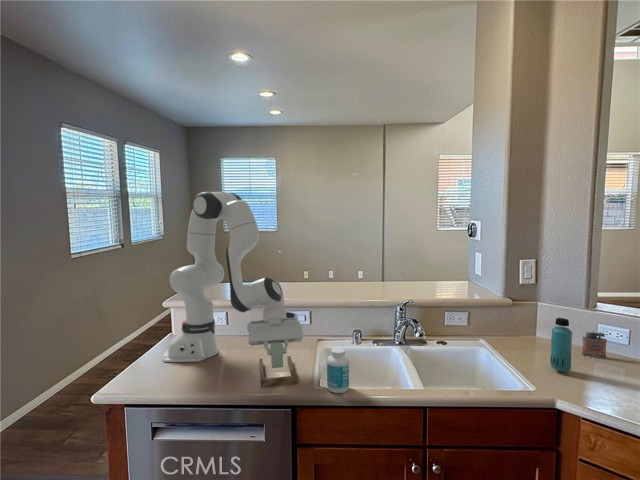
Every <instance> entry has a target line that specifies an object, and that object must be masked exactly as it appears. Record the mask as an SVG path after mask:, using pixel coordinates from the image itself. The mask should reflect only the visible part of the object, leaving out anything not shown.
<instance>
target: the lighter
mask: <svg viewBox="0 0 640 480" xmlns="http://www.w3.org/2000/svg"><path fill="white" fill-rule="evenodd" d="M585 335H586V336H582V337H581V338H582V348H581V349H582V352H581V356H583V355H584V356H583V357H586V356H589V357H588V358H592V357H594V359H603V358H605V359H607V354H606V353H607V342H608V340H607V339H606V338H605V337H606V335H605V333H604V332H595V331H591V332H590V331H586V332H585Z"/></svg>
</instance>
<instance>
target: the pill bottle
mask: <svg viewBox="0 0 640 480" xmlns="http://www.w3.org/2000/svg"><path fill="white" fill-rule="evenodd" d="M349 360H350V359H349V357H348V356H347V355H346V350H345V349H344V348H342V347H334V348H331V350H330V355H329V356H328V357H327V359H326V376H327V377H326V381H327V384H326V385H327V389H328V391H329V392H331V393H334V394H344V393H346V392H348V390H349V388H350V373H349V372H350V361H349Z"/></svg>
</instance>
